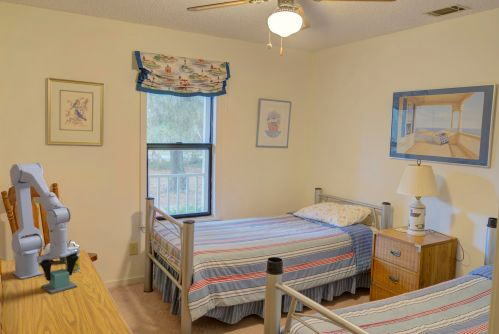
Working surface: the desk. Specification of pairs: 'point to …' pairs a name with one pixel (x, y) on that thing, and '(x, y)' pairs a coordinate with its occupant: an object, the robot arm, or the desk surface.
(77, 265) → the supplement bottle
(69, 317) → the desk surface
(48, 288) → the slate mat
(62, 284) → the teal cube
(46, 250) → the giant panda
